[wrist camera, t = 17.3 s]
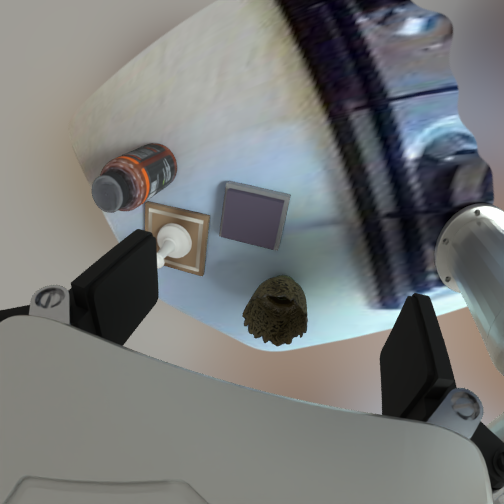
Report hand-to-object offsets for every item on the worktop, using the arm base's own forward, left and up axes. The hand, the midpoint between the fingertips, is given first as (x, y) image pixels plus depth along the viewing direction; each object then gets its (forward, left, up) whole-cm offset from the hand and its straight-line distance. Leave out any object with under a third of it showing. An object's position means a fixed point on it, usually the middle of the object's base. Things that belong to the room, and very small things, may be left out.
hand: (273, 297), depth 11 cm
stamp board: (+15, +15, -27) cm, 34 cm away
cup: (-1, +18, -27) cm, 32 cm away
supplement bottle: (+18, +5, -27) cm, 33 cm away
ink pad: (+5, +9, -27) cm, 29 cm away
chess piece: (+15, +15, -26) cm, 34 cm away
